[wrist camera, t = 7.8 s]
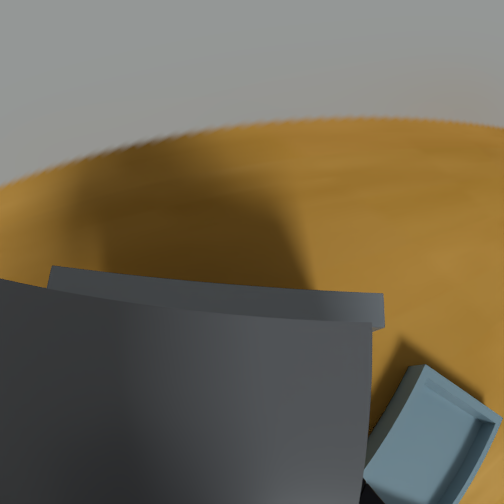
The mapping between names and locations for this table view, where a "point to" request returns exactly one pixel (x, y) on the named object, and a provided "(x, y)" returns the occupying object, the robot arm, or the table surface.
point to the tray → (428, 441)
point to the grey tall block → (177, 404)
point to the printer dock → (223, 297)
